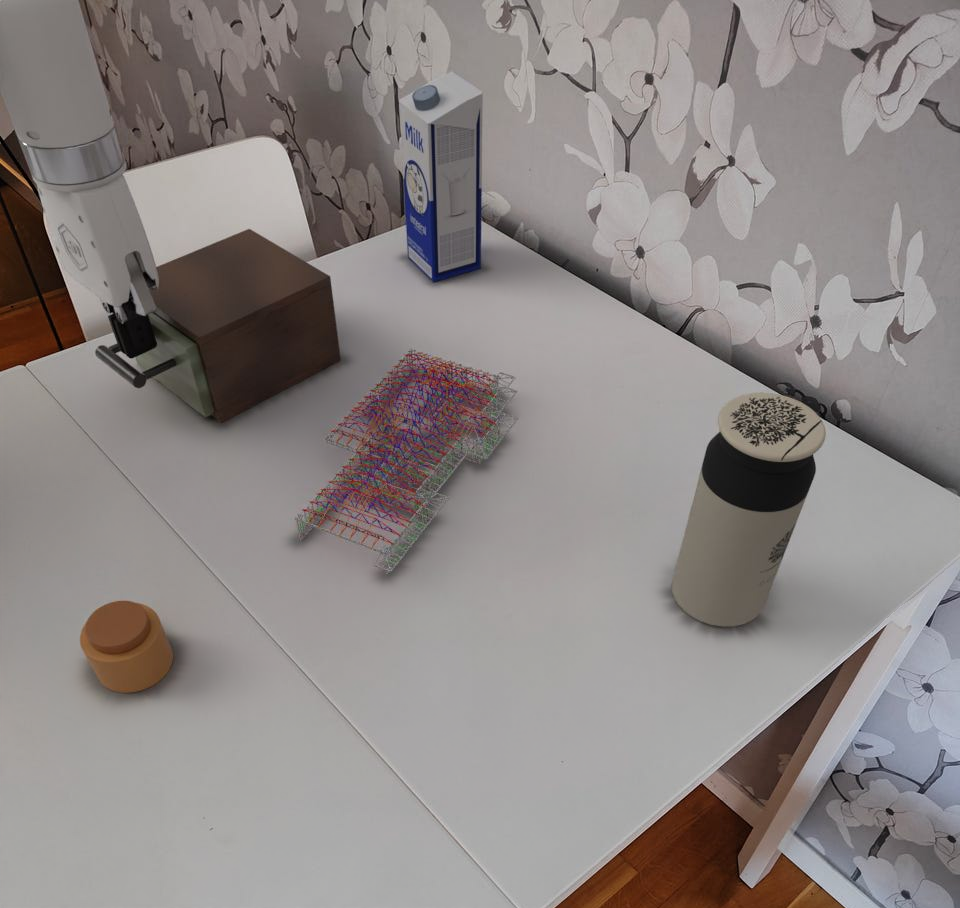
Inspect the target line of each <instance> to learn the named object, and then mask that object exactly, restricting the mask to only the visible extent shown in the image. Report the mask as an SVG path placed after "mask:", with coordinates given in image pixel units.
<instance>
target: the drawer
mask: <svg viewBox="0 0 960 908" xmlns="http://www.w3.org/2000/svg"><path fill="white" fill-rule="evenodd" d="M148 316H149V319H150V322H151V326H152V329H153V332H154V335H155V338H156V342H157V346H156V348H154V349H152V350H150V351H148V352H145V353H143V354H141V355H139V356H137V357H135V361H136V363H137V366H138V367H139V368H141V369H142V370H143V371H142V372H141V371H139V370H138V369H136V368H135V367H133V366H132V365H131V364H130V363H129V362H127V361H126V360H124V358H123V357H121V356H120V355H119V354H117V353H120V352H121V351H120V350H119V347H118V344H117V343H115V344H112V345H110V346H106V345H104V344H101V345H98V346H97V347H96V349H95V351H94V353H95V356H96V358H98V359H99V360H100V361H101V362H103V363H104V364H105V365H106V366H108V367H109V368H110V369H112V370H113V371H114V372H115V373H117V375H119V376H120V377H121V378H123V379H124V380H125V381H127V382H128V383H129V384H130V385H132V386H133V387H134V388H136V389H142V388H144V387H145V386H146V383H147V381H148V380H149V379H151V378H154V379H155V380H156V381H157V382H159V383H160V384H161V385H162V386H164V387H165V388H166V389H168V390H169V391H170V392H172V393H173V394H174V395H175V396H177V397H178V398H179V399H180V400H182V401H184V402H185V403H186V404H187V405H188V406H190V407H191V408H192V409H194V410H195V412H198V413H199V414H200V415H201V416H203V418H207V417H210V416H211V414H213V413H215V411H214V407H213V403H212V399H211V396H210V392H209V388H208V384H207V380H206V377H205V373H204V369H203V365H202V362H201V358H200V354H199V350H198V346H197V344H196V342H195V341H194V340H192V339H191V338H189V337H188V336H187V335H185V334H184V333H182V332H181V331H180V330H178V329H177V328H175V327H174V326H173V325H171V324H170V323H168V322H167V321H166V320H164V319H163V318H161V317H160V316H159V315H157V314H156V313H154V312H153V313H150V314H148Z"/></svg>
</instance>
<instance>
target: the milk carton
mask: <svg viewBox="0 0 960 908" xmlns="http://www.w3.org/2000/svg"><path fill="white" fill-rule="evenodd" d="M483 95H484V92H483V91H482V90H480V89H479V88H477V87H476V86H474V85H472V84H471V83H470V82H468V81H467V80H466V79H465V78H463V77H461V76H460V75H458V74H457V73H455V72H454V71H449V72H448V73H445V74H443V75H441V76H439V77H435V78H434V79H432V80H431V81H429V82H427V83H426V84H423V85H422V86H421V87H419V88H417V89H415V90H414V91H412V92H410V93H409V94H407V95H406V96H404V97H402V98H400V99H399V100H398V104H399V105H398V107H399V122H400V138H401V139H400V140H401V160H402V176H403V195H404V196H403V197H404V210H405V212H404V213H405V230H406V231H405V232H406V246H407V247H406V249H407V258H408V260H410V261H411V262H412V263H413V264H414V265H415V266H416V267H417V268H418V269H419V270H420V271H421V272H422V273H423V274H424V275H425V276H426V277H427V278H428V279H429V280H430V281H432V283H437V282H440V281H442V280H446V279H449V278H453V277H457V276H460V275H463V274H467V273H470V272H473V271H477V270H481V269H482V204H483V203H482V199H483V197H482V196H483V194H482V193H483V192H482V191H483V188H482V187H483V104H484V103H483V102H484V101H483V98H484V96H483Z"/></svg>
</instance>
